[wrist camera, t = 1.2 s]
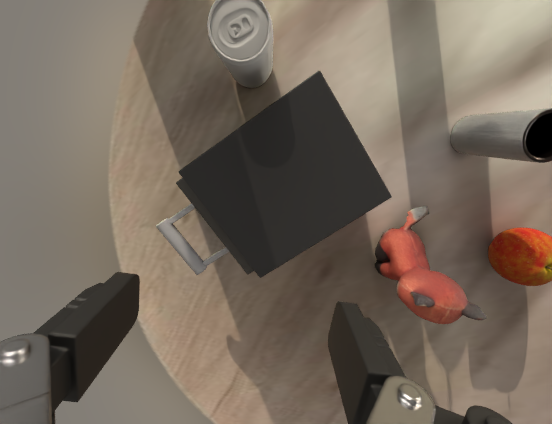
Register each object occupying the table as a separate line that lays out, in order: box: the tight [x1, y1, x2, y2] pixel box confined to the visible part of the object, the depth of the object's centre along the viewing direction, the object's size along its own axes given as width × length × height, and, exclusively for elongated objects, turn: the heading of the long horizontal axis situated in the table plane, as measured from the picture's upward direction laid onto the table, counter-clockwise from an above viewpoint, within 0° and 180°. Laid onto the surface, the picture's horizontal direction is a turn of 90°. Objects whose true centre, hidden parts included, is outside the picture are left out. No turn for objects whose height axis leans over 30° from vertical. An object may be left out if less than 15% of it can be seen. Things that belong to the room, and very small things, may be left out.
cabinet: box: [179, 70, 392, 278], centre depth 30 cm, size 15×13×10 cm
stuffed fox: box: [375, 206, 487, 324], centre depth 32 cm, size 8×11×12 cm
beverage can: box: [207, 0, 273, 88], centre depth 26 cm, size 5×5×12 cm
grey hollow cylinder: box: [450, 108, 552, 163], centre depth 29 cm, size 4×4×10 cm
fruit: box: [488, 228, 552, 286], centre depth 34 cm, size 7×7×8 cm
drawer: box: [156, 178, 254, 275], centre depth 31 cm, size 19×12×8 cm, turn 124°
